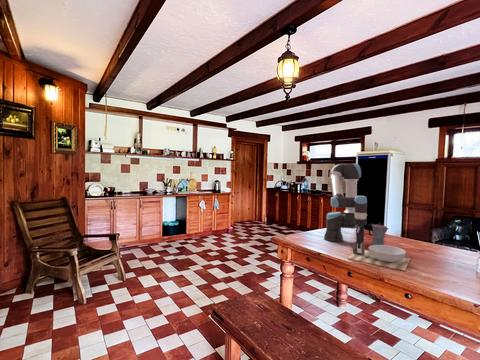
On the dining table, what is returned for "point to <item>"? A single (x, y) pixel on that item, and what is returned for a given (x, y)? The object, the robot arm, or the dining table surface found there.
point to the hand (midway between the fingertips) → (359, 252)
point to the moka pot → (377, 233)
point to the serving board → (368, 258)
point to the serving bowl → (387, 253)
